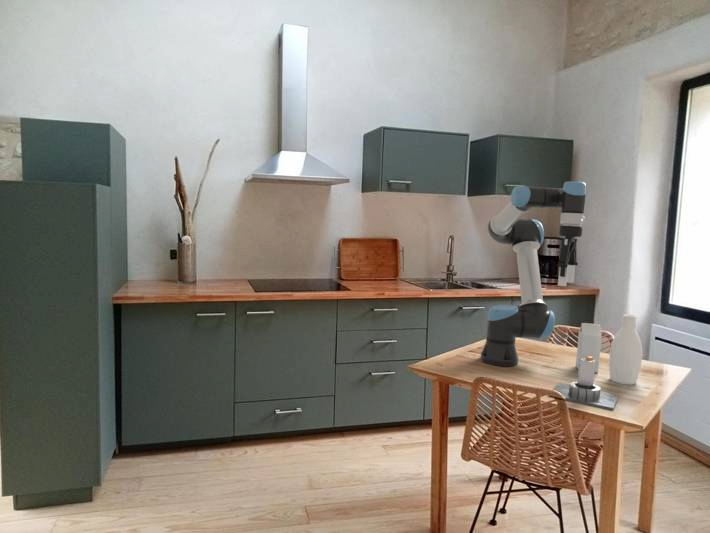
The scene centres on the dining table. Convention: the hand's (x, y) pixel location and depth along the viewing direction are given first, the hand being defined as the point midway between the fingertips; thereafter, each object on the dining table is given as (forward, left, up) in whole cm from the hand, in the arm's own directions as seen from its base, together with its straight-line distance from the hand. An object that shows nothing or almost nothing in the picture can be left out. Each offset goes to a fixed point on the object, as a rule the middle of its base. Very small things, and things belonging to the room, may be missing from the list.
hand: (565, 284), depth 193 cm
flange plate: (+11, -10, -37) cm, 40 cm away
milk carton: (+6, +27, -37) cm, 46 cm away
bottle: (+20, +20, -37) cm, 46 cm away
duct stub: (+11, -10, -36) cm, 39 cm away
